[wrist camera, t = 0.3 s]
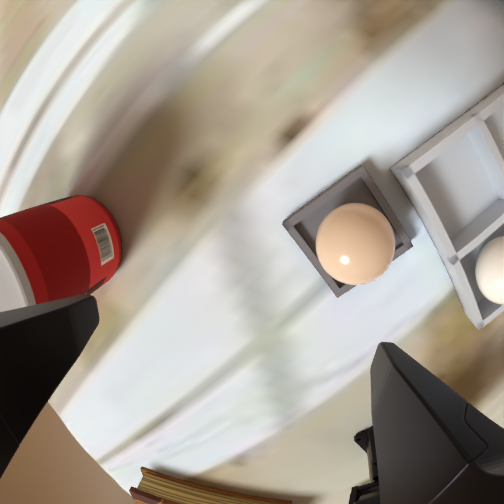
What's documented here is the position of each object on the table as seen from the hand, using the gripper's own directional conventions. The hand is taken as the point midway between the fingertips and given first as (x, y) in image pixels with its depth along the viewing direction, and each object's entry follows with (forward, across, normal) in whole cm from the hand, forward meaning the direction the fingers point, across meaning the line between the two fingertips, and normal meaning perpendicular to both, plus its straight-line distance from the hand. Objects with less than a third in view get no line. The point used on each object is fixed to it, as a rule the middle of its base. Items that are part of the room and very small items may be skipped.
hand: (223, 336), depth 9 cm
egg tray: (+13, -20, -7) cm, 25 cm away
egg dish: (+13, -5, 0) cm, 14 cm away
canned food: (+13, +16, +2) cm, 20 cm away
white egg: (+10, -17, 0) cm, 20 cm away
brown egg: (+10, -5, 0) cm, 11 cm away
